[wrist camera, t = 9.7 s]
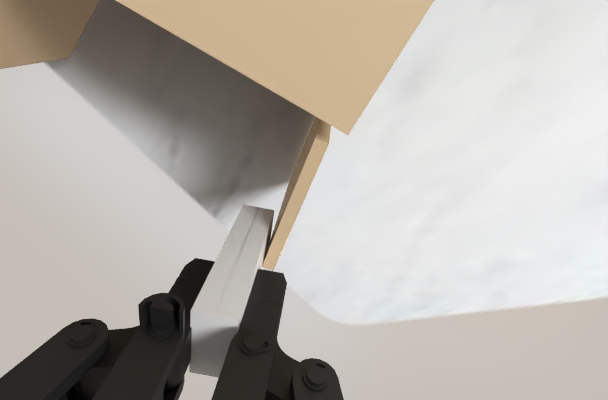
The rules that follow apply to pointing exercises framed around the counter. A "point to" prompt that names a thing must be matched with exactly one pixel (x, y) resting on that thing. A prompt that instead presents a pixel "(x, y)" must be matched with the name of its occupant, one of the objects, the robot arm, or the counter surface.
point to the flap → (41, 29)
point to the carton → (299, 45)
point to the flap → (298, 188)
